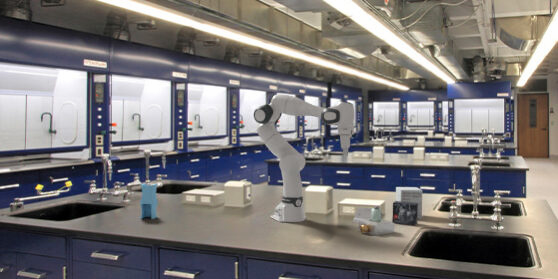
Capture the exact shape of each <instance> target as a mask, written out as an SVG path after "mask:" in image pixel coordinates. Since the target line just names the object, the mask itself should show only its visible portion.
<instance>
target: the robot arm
mask: <svg viewBox="0 0 558 279" xmlns="http://www.w3.org/2000/svg"><path fill="white" fill-rule="evenodd" d="M283 114H285V115H287V116H292V117H293V116H294V117H314V118H318V119H321V121H322V123H324V124H325V125H327V126H328V125H329V126H330V125H331V126H337V135H339V140H340V148H341V149H342V153H343V155H342V156H343V157H344V158H347V157H348V156H349V148H350V147H351V138H352V136H353V135H355V124H354V121H355V107H354V104H353V103H351V102H350V101H343V100H342V101H338V103H336V104H334V105H331V106H330V107H322V106H318V105H314V104H313V103H309V102H308V101H305V100H303V99H301V98H299V97H297V96H293V95H288V94H278V93H277V94H275V95H273V97H272V98H271V100H270V103H266V104H263V105H260V106H258V107H256V108H255V109H254V111H253V119H254V120H255V122H256V123H257V124H259V125H258V126H257V128H256V131H257V132H256V133H257V134H258V136H259V137H260V139H261V141H262V142H263V143H264V145H265V146H266V148H267V149H268V150H269V151H270V152H271V153H272V154H273V155H274V156H276V157H277V158H278V159H279V163H278V164H279V165H278V167H279V169H280V171H281V176H282V177H281V178H282V184H283V185H282V187H283V189H282V190H283V192H282V194H283V195H282V196H281V202H280V203H279V204H277V206H276V207H275V208H274V214H272V215H270V218H272V219H274V220H276V221H277V222H279V223H281V222H282V223H300V222H305V220H306V219H307V217H306V216H305V206H304V204H303V201H304V197H303V181H302V178H301V173H300V172H301V171H302V170H303V169H304V168H305V166H306V158H305V157H304V156H303V155H302V154H301V153H300V152H299V151H298V150H297V149H295V148H294V147H293V146H292V145H291V144H290V143H289V142H288V141H287V140H286V138H284V136H283V135H282V134H281V133H280V131H279V130H278V128H276V125H277V124H278V122H279V120H280V119H281V117H282V115H283Z"/></svg>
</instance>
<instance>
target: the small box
mask: <svg viewBox="0 0 558 279" xmlns="http://www.w3.org/2000/svg"><path fill="white" fill-rule="evenodd" d="M417 214H418V203H411V202H401V201H396V200H395V201H393V202H392V221H391V222H393V223H394V224H397V225H404V226H405V225H406V226H416V225H418V219H417V216H418V215H417Z"/></svg>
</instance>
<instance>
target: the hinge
mask: <svg viewBox="0 0 558 279" xmlns="http://www.w3.org/2000/svg"><path fill="white" fill-rule="evenodd" d="M372 208H373V207H368V206H367V207H365V206H364V207H363V206H362V207H358V208H357V209H356V210H355V214H354V218H353V219H352V223H356V224H359V222H360V221H364V220H366V219H372ZM381 219H383V212H382V211H381Z"/></svg>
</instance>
